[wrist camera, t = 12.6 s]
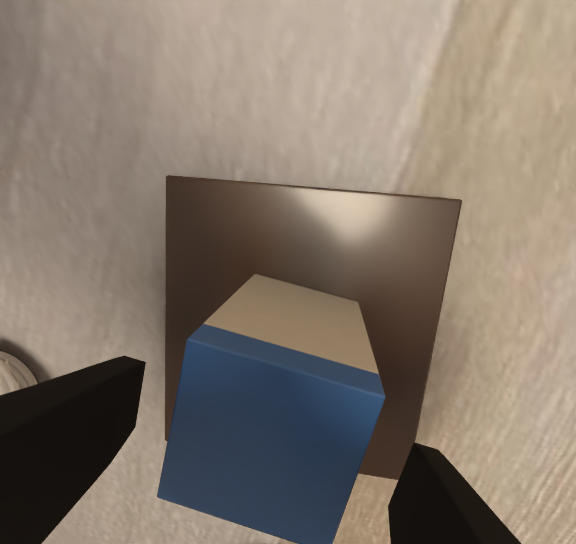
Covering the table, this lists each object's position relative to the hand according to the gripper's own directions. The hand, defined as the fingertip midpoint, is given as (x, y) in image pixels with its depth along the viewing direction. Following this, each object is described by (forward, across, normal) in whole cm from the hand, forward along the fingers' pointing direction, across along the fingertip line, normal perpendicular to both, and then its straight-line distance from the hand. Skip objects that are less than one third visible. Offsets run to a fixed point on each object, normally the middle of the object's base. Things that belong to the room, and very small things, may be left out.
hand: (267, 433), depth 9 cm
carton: (+6, 0, 0) cm, 6 cm away
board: (+8, 0, 0) cm, 8 cm away
